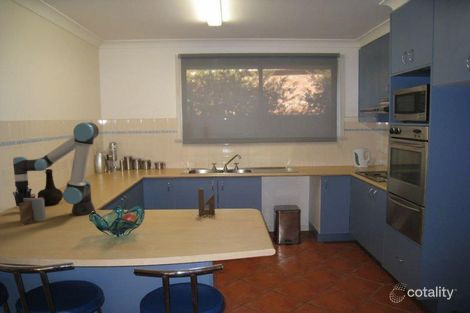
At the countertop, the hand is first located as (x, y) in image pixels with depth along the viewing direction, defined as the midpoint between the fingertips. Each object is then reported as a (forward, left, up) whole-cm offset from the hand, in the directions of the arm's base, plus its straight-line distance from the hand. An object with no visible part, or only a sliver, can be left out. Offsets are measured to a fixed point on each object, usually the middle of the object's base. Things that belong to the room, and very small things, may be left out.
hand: (24, 215), depth 236 cm
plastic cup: (+16, -21, -4) cm, 27 cm away
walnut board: (-7, 0, -3) cm, 7 cm away
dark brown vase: (+16, -43, -4) cm, 46 cm away
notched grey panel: (-6, 0, -2) cm, 7 cm away
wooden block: (-117, -31, -4) cm, 121 cm away
